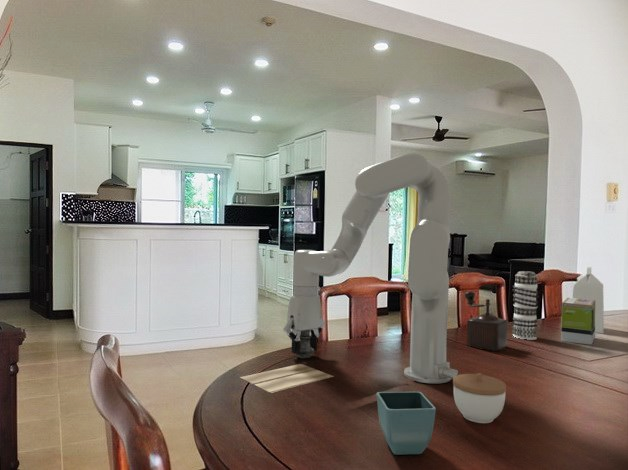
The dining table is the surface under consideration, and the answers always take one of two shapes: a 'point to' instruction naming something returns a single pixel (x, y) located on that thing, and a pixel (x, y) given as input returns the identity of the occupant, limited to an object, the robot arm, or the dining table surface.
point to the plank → (293, 381)
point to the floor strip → (276, 373)
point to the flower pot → (406, 421)
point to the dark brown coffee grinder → (485, 328)
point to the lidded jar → (479, 396)
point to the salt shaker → (305, 345)
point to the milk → (591, 296)
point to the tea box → (578, 321)
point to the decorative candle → (525, 305)
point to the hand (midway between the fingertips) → (304, 351)
